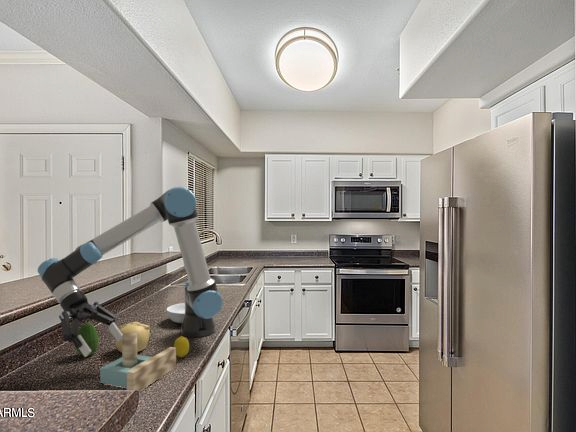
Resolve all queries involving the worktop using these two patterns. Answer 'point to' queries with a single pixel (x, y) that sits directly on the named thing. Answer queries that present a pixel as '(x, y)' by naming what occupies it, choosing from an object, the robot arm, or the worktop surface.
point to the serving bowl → (176, 312)
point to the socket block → (118, 372)
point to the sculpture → (141, 331)
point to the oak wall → (151, 369)
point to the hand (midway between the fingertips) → (105, 346)
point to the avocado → (89, 337)
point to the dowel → (129, 350)
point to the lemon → (181, 346)
